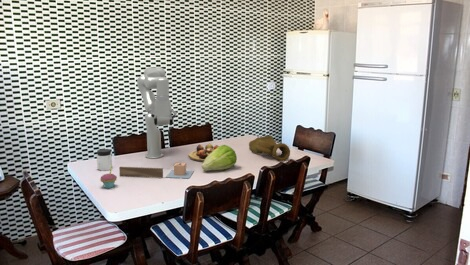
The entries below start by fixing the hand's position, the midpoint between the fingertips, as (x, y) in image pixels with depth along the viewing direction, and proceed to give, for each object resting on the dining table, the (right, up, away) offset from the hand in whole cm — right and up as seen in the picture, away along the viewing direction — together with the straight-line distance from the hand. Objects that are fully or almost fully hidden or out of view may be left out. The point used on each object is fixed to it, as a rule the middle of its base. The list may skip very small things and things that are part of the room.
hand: (163, 124), depth 239 cm
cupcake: (-24, -35, -31) cm, 53 cm away
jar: (-37, -28, 0) cm, 47 cm away
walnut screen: (-10, -31, -14) cm, 36 cm away
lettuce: (+34, -28, +3) cm, 45 cm away
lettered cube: (+12, -30, -10) cm, 34 cm away
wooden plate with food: (+28, -23, +32) cm, 48 cm away
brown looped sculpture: (+70, -22, +34) cm, 80 cm away
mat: (+12, -31, -10) cm, 34 cm away
